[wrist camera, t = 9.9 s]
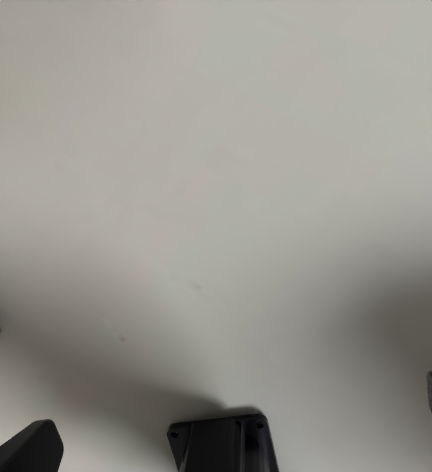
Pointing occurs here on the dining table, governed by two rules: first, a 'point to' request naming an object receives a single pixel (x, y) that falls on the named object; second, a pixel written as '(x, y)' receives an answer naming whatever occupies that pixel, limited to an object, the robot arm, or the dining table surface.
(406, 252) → the dining table surface
